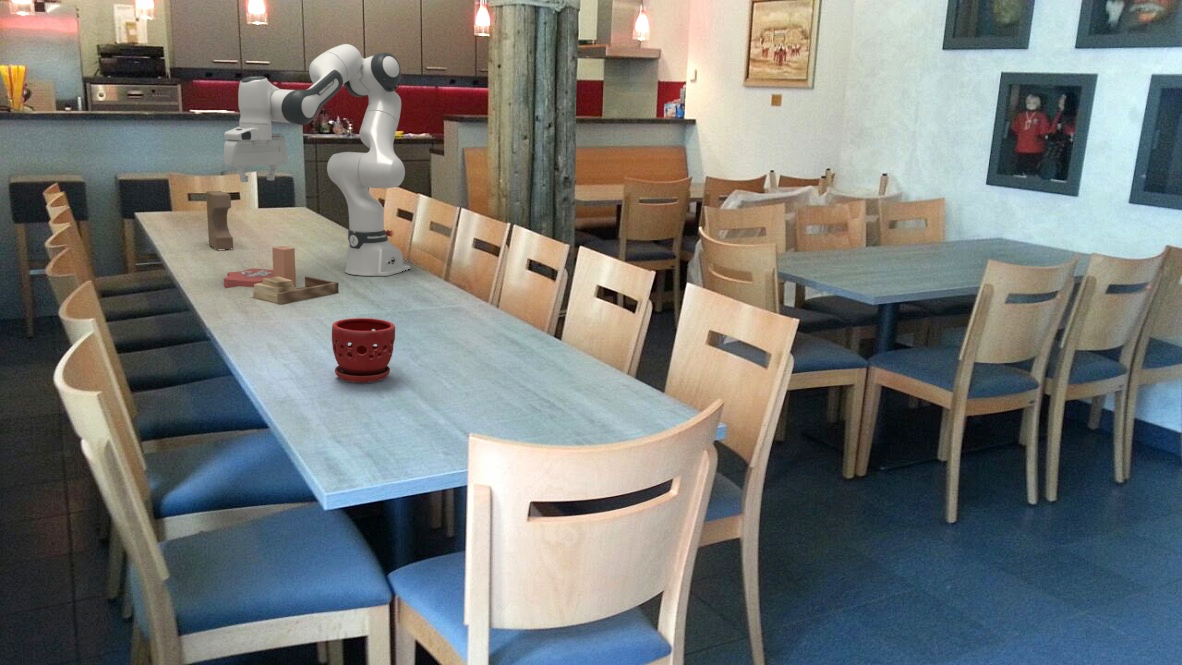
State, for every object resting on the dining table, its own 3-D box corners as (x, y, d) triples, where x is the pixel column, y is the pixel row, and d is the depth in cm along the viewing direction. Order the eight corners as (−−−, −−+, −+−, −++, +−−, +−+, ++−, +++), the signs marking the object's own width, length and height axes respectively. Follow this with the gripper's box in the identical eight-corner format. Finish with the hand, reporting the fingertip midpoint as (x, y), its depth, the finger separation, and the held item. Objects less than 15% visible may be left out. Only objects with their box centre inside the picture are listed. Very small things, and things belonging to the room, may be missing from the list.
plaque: (242, 265, 295) (287, 269, 293) (243, 277, 296) (287, 281, 294) (211, 275, 278) (259, 280, 276) (212, 288, 279) (259, 292, 277)
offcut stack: (273, 293, 270) (273, 274, 268) (299, 299, 264) (299, 280, 263) (252, 297, 264) (251, 278, 262) (278, 303, 258) (278, 284, 257)
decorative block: (233, 249, 338) (230, 194, 333) (217, 250, 335) (214, 194, 329) (224, 245, 346) (221, 190, 341) (208, 246, 343) (205, 191, 338)
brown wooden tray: (308, 289, 282) (307, 276, 281) (338, 296, 275) (338, 282, 274) (249, 300, 264) (249, 286, 263) (280, 308, 258) (280, 293, 257)
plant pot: (381, 389, 195) (380, 333, 192) (322, 383, 197) (320, 327, 194) (404, 371, 207) (404, 319, 204) (348, 365, 209) (347, 313, 206)
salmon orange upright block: (284, 285, 283) (283, 246, 280) (295, 287, 280) (294, 248, 277) (273, 287, 279) (272, 247, 276) (285, 289, 277) (283, 249, 274)
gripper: (277, 132, 284) (278, 178, 287) (219, 133, 267) (221, 181, 270) (291, 133, 281) (292, 180, 284) (233, 134, 264) (235, 183, 267)
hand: (257, 181), depth 277 cm, fingers open, 8 cm apart
